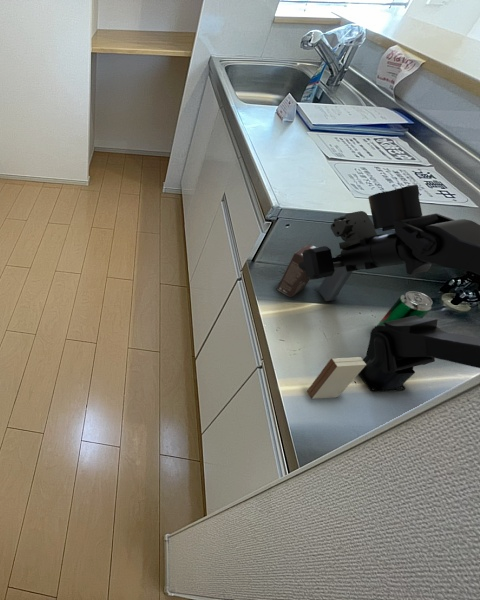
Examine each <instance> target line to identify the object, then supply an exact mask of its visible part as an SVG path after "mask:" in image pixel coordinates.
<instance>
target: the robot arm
mask: <svg viewBox="0 0 480 600" xmlns="http://www.w3.org/2000/svg"><path fill="white" fill-rule="evenodd" d="M368 203H369V208H370V213H371V218H370V216H369V215H368V213H367V212H366V211H363V210H358V211H352V212H348V213H345V214H344V215H341V216H340V217H336V218H334V219H333V222H332V223H331V224H330V229H331V231H332V233H333V235H334V236H335V237H336V238H338V237H340V238H341V239H342V241H341V242H339V243H338V246H339V249H340V250H341V251H340V253H339V254H337V255H335V256H333V255H332V250H331V248H330V247H328V245H324V246H319V247H317V246H316V247H317V248H312V249H307V250H304V251H303V253H302V254H303V259H304V260H303V261H302V262H300V263H299V268H300V269H302V270H304V271H306V275H307V278H309V281H310V280H318V279H324V278H325V277H328V276H332V275H333V273H334V271H335V269H334V268H339V267H344V266H346V271H347V272H349V271H352V272H354V271H360V270H372V269H377V268H383V267H389V266H398V265H399V266H400V265H404V266H405V270H406V275H410V276H411V275H415V274H420V273H425V272H428V271H429V270H430V269H431V266H432V265H435V266H438V267H441V268H447V269H454V270H455V269H456V270H462V271H467V272H471V273H473V274H476V275H478V276H480V224H479V223H477V222H476V221H474V220H471V219H466V218H460V219H459V218H458V219H453V218H451V217H447V216H445V215H442V214H440V213H431V214H426V215H423V211H422V205H421V201H420V188H419V185H418V184H411V185H406V186H402V187H400V188H396V189H392V190H387V191H386V190H385V191H382V192H377V193H374V194H372V195H369V196H368ZM380 229H381V230H382V232H387V231H391V230H394V232H392V233H391V232H390V233H380V234H377V231H376V230H380ZM334 262H339V263H334ZM333 263H334V264H333ZM438 322H439V321H438V319H437V318H425V317H423V318H420V317H418V316H411V317H406V318H402V319H397V320H393V321H388V322H384V324H383V325H378V324H377V325H378V326H377V325H375V326H374V327H372V329H371V331H370V337H369V341H368V345H367V349H366V353H365V355H366V356H364V357H363V358H362V360H363V361H364V362H365V363H366V366H365V367H364V368H363V369H362V370H361V371H360V373H359V374H358V376H359V377H360V378H361V379H362V381H363V382H364V384H365V385H366V387H367V388H368V389H369V391H370V392H372V393H384V392H386V393H387V392H403V391H405V390H406V386H405V385H404V384H405V383H406V382H407V381H408V380H409V379H410V378H411V377H412V376H413V375H414V374H415V373H416V371H415V370H414V368H415V367H418V366H419V367H420V366H425V365H429V364H431V363H435V361H436V359H438V360H442V361H446V362H450V363H455V364H460V365H464V366H468V367H473V368H477V369H480V337H478V336H471V335H466V334H465V335H464V334H459V333H451V332H447V331H445V330H443V329H441V328H439V327H438Z"/></svg>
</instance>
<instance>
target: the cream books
mask: <svg viewBox="0 0 480 600" xmlns="http://www.w3.org/2000/svg"><path fill="white" fill-rule="evenodd" d="M365 366H366V363H365V362H364V361H363V358H362V357H361V356H354V357H339V358H338V357H336V358H334V357H333V358H330V359H329V361H328V362H327V363H326V364H325V366H324V367H323V368H322V370H321V372H320V373H319V374H318V375H317V376H316V378H315V380H314V381H313V382H312V383H311V385H310V386H309V387H308V389H307V390H306V392H307V394H308V396H309V398H310V399H311V400H313V399H330V398H332V399H333V398H339V397H340V395H341V394H342V393H343V392H344V391H345V390H346V388H348V386H350V384H351V383H352V382H353V381H354V379H356V378H357V376H359V373H360V371H361V370H362V369H363V368H364V367H365Z"/></svg>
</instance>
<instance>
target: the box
mask: <svg viewBox="0 0 480 600" xmlns="http://www.w3.org/2000/svg"><path fill="white" fill-rule="evenodd" d="M312 248H317V246H315V245H312V244H311V243H309V244H307V245H305V246H303V247H301V248H300V249H299V250H297V251H296V252H294V253H293V255H292V257H291V260H290V262H289V263H288V266H287V267H286V269H285V271H284V273H283V276H282V277H281V279H280V281H279V283H278V285H277V287H276V290H277V291H279V292H280V293H282V294H284V295H285V296H287V297H289V298H293V297H295V295H297V294H298V293H299V292H301V291H303V290H304V289H305V288H306V287H307V285H308V283H309V281H310V279H309V278H307V275H306V271H304V270H302V269H300V268H299V263H300V262H302V261H303V260H304V259H303V254H302V253H303V251H304V250H307V249H312Z"/></svg>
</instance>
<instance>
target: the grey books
mask: <svg viewBox="0 0 480 600" xmlns="http://www.w3.org/2000/svg"><path fill="white" fill-rule="evenodd" d="M334 263H339V262H334ZM334 263H333V264H334ZM334 269H335V271H334V273H333V275H332V276H328V277H324V278H323V280H322V282H321V284H320V286H319V287H318V289H317V292H318V293H319V294H320V296H321V297H322V298H323V300H324V301H325V302H333V301H335V300H336V298H337V297H338V295H339V294H340V292H341V291H342V289H343V287H344V286H345V284H346V283H347V281H348V280H349V278H350V276H351V274H352V273H353V271H349V272H347V271H346V266H344V267H339V268H334Z"/></svg>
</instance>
